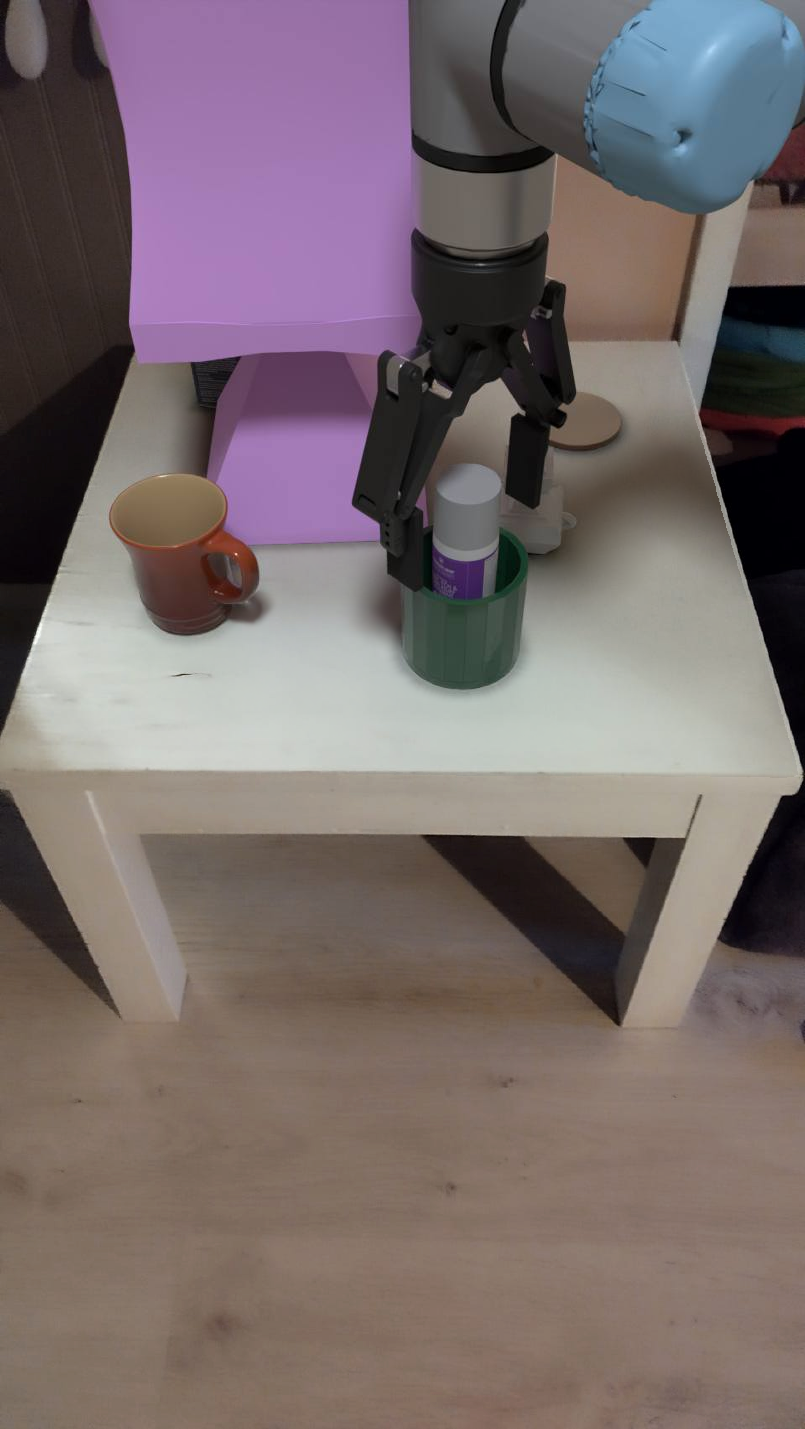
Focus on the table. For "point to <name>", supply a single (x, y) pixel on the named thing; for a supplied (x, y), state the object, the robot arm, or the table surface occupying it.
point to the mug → (183, 550)
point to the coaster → (586, 424)
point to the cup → (466, 623)
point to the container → (466, 531)
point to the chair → (272, 233)
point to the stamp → (537, 513)
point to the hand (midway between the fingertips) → (465, 538)
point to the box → (212, 379)
